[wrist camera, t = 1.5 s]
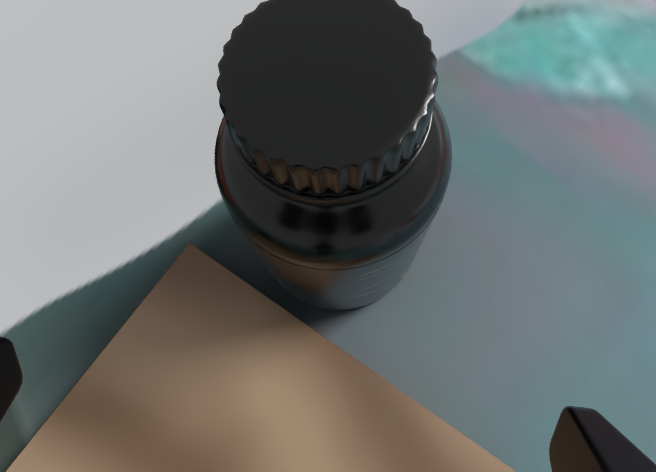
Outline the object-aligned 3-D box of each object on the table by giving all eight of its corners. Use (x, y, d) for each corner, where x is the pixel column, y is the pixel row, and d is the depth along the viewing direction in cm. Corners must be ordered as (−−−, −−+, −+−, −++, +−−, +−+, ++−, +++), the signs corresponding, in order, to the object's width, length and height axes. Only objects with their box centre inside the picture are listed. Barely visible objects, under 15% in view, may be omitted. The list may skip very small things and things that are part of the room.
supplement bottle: (231, 244, 22) (99, 78, 10) (333, 142, 23) (314, -103, 12) (345, 349, 20) (336, 287, 9) (448, 232, 22) (555, 47, 10)
